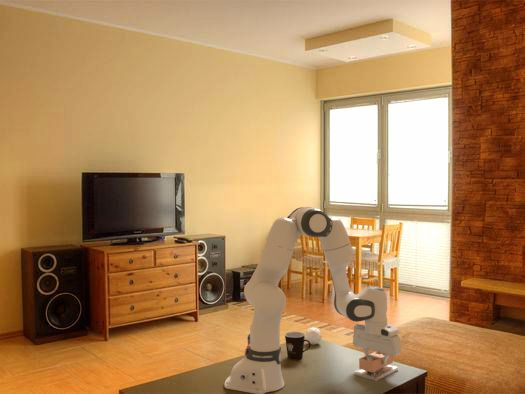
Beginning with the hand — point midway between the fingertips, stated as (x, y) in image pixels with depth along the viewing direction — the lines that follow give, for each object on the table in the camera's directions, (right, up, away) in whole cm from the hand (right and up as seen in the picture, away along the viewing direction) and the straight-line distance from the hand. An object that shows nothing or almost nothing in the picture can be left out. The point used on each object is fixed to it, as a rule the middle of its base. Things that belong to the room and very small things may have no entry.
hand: (376, 361), depth 212 cm
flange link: (0, -2, 0) cm, 2 cm away
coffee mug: (-30, -4, +18) cm, 36 cm away
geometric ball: (-21, -4, +38) cm, 44 cm away
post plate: (0, -4, 0) cm, 4 cm away
